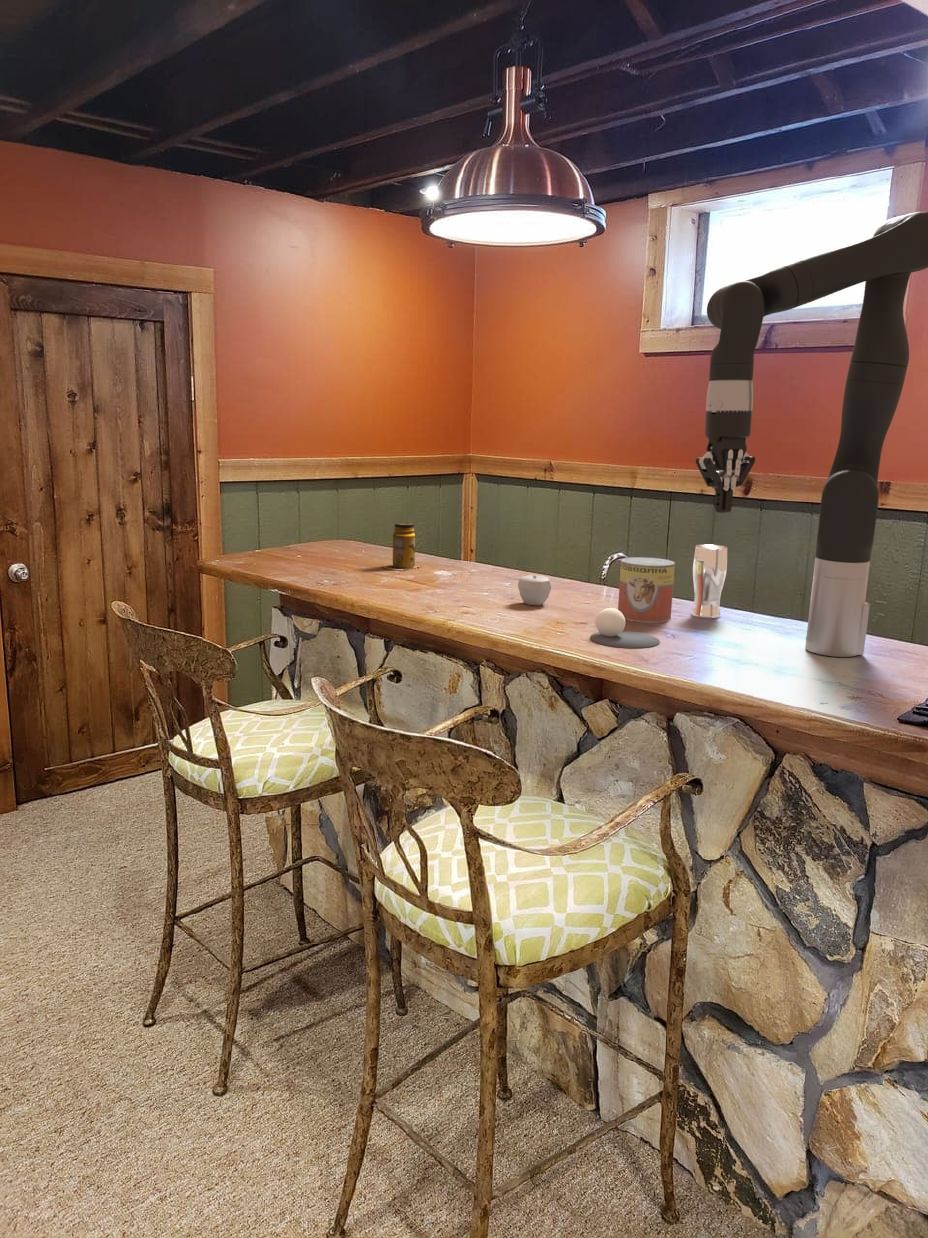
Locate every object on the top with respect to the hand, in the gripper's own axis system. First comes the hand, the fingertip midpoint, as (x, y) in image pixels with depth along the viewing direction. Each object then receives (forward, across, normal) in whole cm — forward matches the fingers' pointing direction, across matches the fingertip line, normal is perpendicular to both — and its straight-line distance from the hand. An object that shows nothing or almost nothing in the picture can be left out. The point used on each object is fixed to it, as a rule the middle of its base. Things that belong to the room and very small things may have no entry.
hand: (722, 512), depth 157 cm
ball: (+22, +6, -20) cm, 31 cm away
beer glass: (+26, -26, -25) cm, 44 cm away
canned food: (+25, -13, -30) cm, 42 cm away
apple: (+25, 0, -52) cm, 58 cm away
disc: (+25, +5, -17) cm, 31 cm away
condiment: (+24, +2, -108) cm, 110 cm away
